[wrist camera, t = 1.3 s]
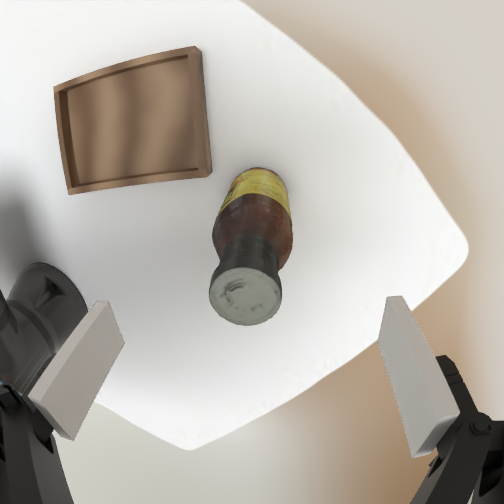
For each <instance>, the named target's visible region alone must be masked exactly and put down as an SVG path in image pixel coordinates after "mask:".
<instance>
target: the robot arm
mask: <svg viewBox="0 0 504 504" xmlns="http://www.w3.org/2000/svg"><path fill="white" fill-rule="evenodd" d="M377 343H378V346H379V349H380V352H381V355H382V358H383V361H384V364H385V367H386V370H387V373H388V376H389V379H390V382H391V385H392V388H393V391H394V394H395V398H396V401H397V404H398V408H399V411H400V415H401V418H402V421H403V425H404V429H405V432H406V436H407V440H408V443H409V447H410V451H411V455H412V458H415V457H419V456H423V455H427V454H430V453H431V452H432V451H433V449H434V448H435V447H437V451H438V455H437V456H436V457H435V458H434V459H433V461H432V462H431V463H430V464H429V466H430V467H431V468H430V469H429V472H428V473H427V475H426V477H425V479H424V480H423V482H422V484H421V486H420V488H419V489H418V491H417V493H416V494H415V496H414V498H413V499H412V501H411V502H410V504H467V503H468V501H469V499H470V496H471V494H472V492H473V490H474V492H473V497H472V502H471V504H504V421H493V420H491V418H490V417H489V416H487V415H486V414H484V413H481V412H478V410H477V408H476V406H475V404H474V402H473V400H472V397H471V395H470V393H469V391H468V389H467V387H466V385H465V383H464V382H463V379H462V377H461V375H459V371H458V369H457V368H456V366H455V363H454V362H453V361H452V360H451V359H449V358H448V357H447V356H446V355H442V356H438V357H435V356H434V354H433V352H432V350H431V348H430V346H429V345H428V343H427V340H426V339H425V337H424V335H423V333H422V331H421V329H420V327H419V325H418V324H417V322H416V320H415V318H414V316H413V315H412V313H411V311H410V309H409V307H408V305H407V304H406V302H405V300H404V298H403V297H402V296H392V297H387V299H386V304H385V309H384V314H383V319H382V324H381V328H380V333H379V337H378V342H377ZM124 344H125V343H124V340H123V338H122V335H121V333H120V330H119V327H118V325H117V322H116V320H115V317H114V314H113V311H112V309H111V306H110V303H109V301H96V303H95V304H94V305H93V306H92V308H91V309H90V310H89V311H88V312H87V308H86V305H85V303H84V300H83V298H82V296H81V295H80V293H79V291H78V290H77V288H76V287H75V286H74V284H73V283H72V282H71V281H70V280H69V279H68V278H67V277H66V276H65V275H64V274H63V273H61V272H60V271H59V270H57V269H56V268H54V267H52V266H50V265H48V264H44V263H34V264H31V265H30V266H28V267H27V268H26V269H25V270H23V271H22V272H21V273H20V275H19V276H18V278H17V280H16V282H15V284H14V286H13V288H12V290H11V292H10V294H9V296H8V298H7V300H5V298H4V296H3V294H2V292H1V290H0V504H74V502H73V499H72V497H71V494H70V491H69V488H68V485H67V481H66V478H65V475H64V472H63V469H62V465H61V461H60V458H59V454H58V450H57V446H56V442H55V438H54V436H53V434H52V432H53V430H54V429H55V430H56V432H57V433H58V434H59V435H60V436H61V437H64V438H66V439H69V440H72V441H74V439H75V437H76V435H77V433H78V431H79V429H80V427H81V425H82V423H83V421H84V419H85V417H86V415H87V413H88V411H89V408H90V407H91V405H92V403H93V401H94V399H95V397H96V395H97V393H98V392H99V390H100V388H101V386H102V384H103V382H104V380H105V378H106V376H107V375H108V373H109V371H110V369H111V367H112V365H113V364H114V362H115V360H116V358H117V356H118V354H119V353H120V351H121V349H122V347H123V346H124Z"/></svg>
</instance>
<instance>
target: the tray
mask: <svg viewBox="0 0 504 504" xmlns="http://www.w3.org/2000/svg"><path fill="white" fill-rule="evenodd" d="M54 100H55V112H56V121H57V130H58V138H59V145H60V151H61V158H62V164H63V169H64V175H65V180H66V185H67V190H68V195H73V194H79V193H85V192H91V191H97V190H103V189H110V188H116V187H123V186H131V185H138V184H146V183H154V182H163V181H172V180H181V179H191V178H202V177H207V176H208V175H209V174H211V173H212V164H211V154H210V144H209V134H208V123H207V112H206V101H205V90H204V78H203V65H202V52H201V51H200V50H199V49H198V48H197V47H196V46H191V47H186V48H180V49H175V50H170V51H166V52H161V53H157V54H152V55H148V56H144V57H140V58H136V59H133V60H129V61H125V62H122V63H119V64H115V65H112V66H109V67H106V68H102V69H99V70H96V71H94V72H91V73H88V74H85V75H82V76H80V77H77V78H74V79H72V80H69V81H67V82H64V83H62V84H59V85H57V86H54Z"/></svg>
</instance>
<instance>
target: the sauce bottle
mask: <svg viewBox="0 0 504 504" xmlns="http://www.w3.org/2000/svg"><path fill="white" fill-rule="evenodd" d="M212 238H213V244H214V247H215V249H216V251H217V254H218V256H219V258H220V263H219V266H218V267H217V268H216V270H215V271H214V273H213V275H212V279H211V284H210V288H209V299H210V302H211V305H212V307H213V308H214V309H215V311H216V312H217V313H218V314H219V315H220V316H221V317H223V318H224V319H226V320H228V321H229V322H232V323H234V324H237V325H243V326H250V325H257V324H260V323H263V322H265V321H267V320H268V319H270V318H272V317H273V315H274V314H276V312H277V311H278V309H279V307H280V304H281V300H282V287H281V281H280V277H279V275H278V271H279V270H280V269H281V268H282V267H283V266H284V264H285V263H286V261H287V260H288V258H289V255H290V253H291V250H292V242H293V233H292V221H291V214H290V208H289V202H288V196H287V191H286V188H285V186H284V183H283V182H282V180H281V179H280V178H279V177H278V175H277V174H275V173H274V172H272V171H270V170H267V169H263V168H251V169H249V170H247V171H245V172H244V173H242V174H240V175H239V176H238V177H237V178H236V179H235V180H234V182H233V183H232V185H231V187H230V190H229V192H228V194H227V196H226V198H225V200H224V203H223V205H222V207H221V209H220V211H219V213H218V216H217V218H216V221H215V224H214V227H213V233H212Z"/></svg>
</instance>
